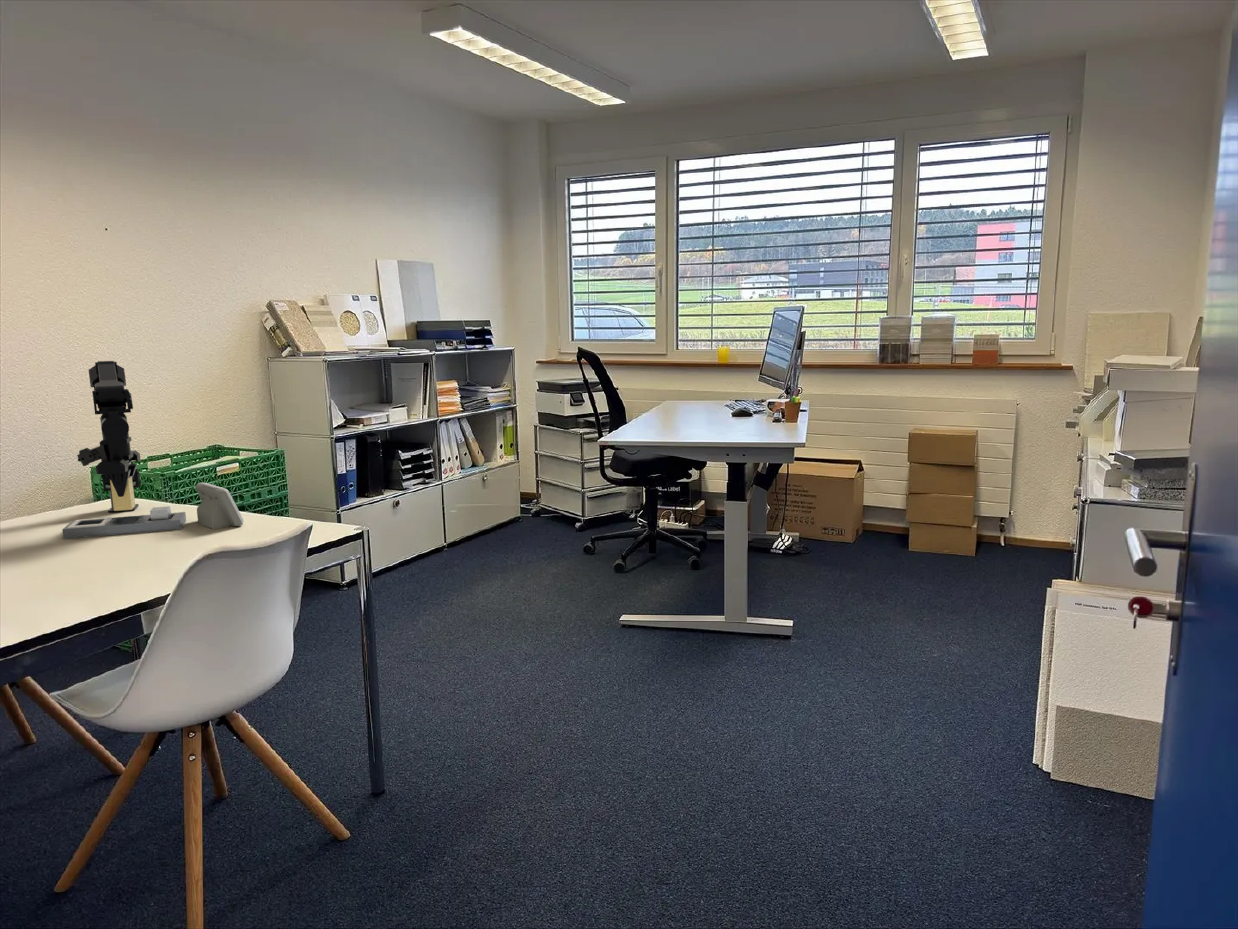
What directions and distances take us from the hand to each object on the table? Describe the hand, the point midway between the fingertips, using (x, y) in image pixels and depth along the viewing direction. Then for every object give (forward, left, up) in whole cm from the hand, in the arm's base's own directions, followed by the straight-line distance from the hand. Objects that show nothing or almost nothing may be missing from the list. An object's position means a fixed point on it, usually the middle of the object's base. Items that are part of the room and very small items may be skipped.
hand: (123, 494), depth 207 cm
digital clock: (+1, +22, -10) cm, 24 cm away
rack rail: (0, 0, -9) cm, 9 cm away
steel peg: (0, +8, -9) cm, 12 cm away
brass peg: (0, 0, -4) cm, 4 cm away
